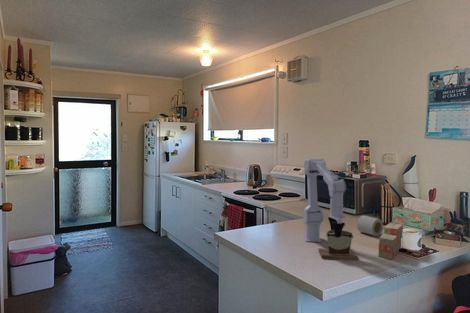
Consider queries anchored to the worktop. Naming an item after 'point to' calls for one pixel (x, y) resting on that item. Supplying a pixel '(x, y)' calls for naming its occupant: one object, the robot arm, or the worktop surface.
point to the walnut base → (326, 255)
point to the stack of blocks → (390, 240)
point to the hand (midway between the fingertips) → (335, 234)
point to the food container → (339, 243)
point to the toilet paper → (370, 225)
